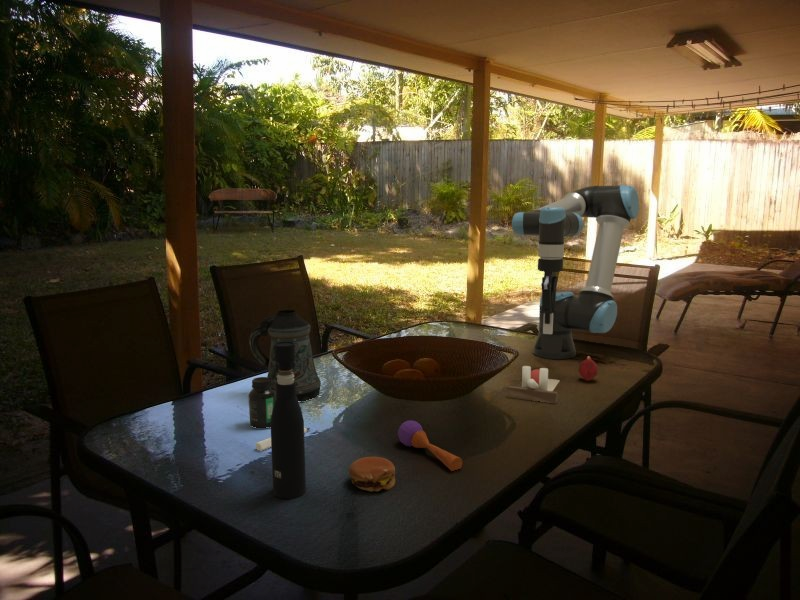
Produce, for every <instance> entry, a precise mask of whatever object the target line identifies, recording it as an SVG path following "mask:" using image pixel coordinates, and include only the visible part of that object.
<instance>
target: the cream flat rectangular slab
mask: <svg viewBox="0 0 800 600" xmlns="http://www.w3.org/2000/svg"><path fill="white" fill-rule="evenodd" d="M558 384H560V379H552V378H548V388H547V391H553V392H554V390H555V388H557V386H558ZM530 389H531V388H530Z"/></svg>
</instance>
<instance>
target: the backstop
mask: <svg viewBox="0 0 800 600" xmlns="http://www.w3.org/2000/svg"><path fill="white" fill-rule="evenodd" d="M506 398H510V399H516V400H525V401H531V400H532V401H533V402H538V401H540V402H541V403H545V402H546V403H547V404H553V405H554V404H557V402H558V391H554V390H553V391H545V390H538V389H530V388H522V386H513V385H508V386H506Z"/></svg>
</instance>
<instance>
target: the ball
mask: <svg viewBox="0 0 800 600" xmlns="http://www.w3.org/2000/svg"><path fill="white" fill-rule="evenodd" d="M539 374H540V368H539V369H538V368H536V369H533V370H532V369H531V379H534V380H535V382H536V383H537V384H538V385H539Z"/></svg>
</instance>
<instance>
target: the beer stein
mask: <svg viewBox="0 0 800 600" xmlns="http://www.w3.org/2000/svg"><path fill="white" fill-rule="evenodd" d="M311 326H312V325H311V324H310V323H309V322H308V321H307V320H306V319H304V318H302V317H301V316H300V315H298V314H297V313H296V310H293V309H291V310H290V309H285V310H278V311H277V312H276V314H275V315H271V316H266V317H264V318H262V321H261V322H260V325H259V326H257V327H255V328H254V329H252V330H251V331H250V336H249V339H248V340H249V342H248V343H249V348H250V351H251V353H252V355H253V356H254V358H255V359H256V361H258V362H259V364H260V365H262V366H263V367H264V368H266V369H267V370H268V371H267V376H266V377H269V378H271V379H272V387H271V388H273V389H274V390H275V391H276V383H277V382H278V381H277V379H278V378H277V376H278V373H280V372H279V371H278V369H279V363H278V362H275V352H274V344H275V343H278V342H293V343H295V361H293V362H292V371H291V372H293V375H294V382H296V397H297V399H298V401H306V400H309V399H312V398H315V397H316V396H317V395H319V396H320V391H321V385H322V384H321V383H322V382H321V379H320V377H319V375H318V373H317V372H318V371H317V369H316V365H315V362H314V361H315V360H314V357H313V350H312V344H311V340H310V332H311ZM261 336H265V337H266V336H270V349H269V358H268V357H267V356H266V355H265V354H264V353H263V351H262V350H261V348H260V346H259V338H260V337H261ZM317 397H318V396H317ZM317 397H316V398H317ZM316 398H315V399H316ZM312 400H313V399H312ZM309 401H310V400H309ZM306 402H307V401H306Z"/></svg>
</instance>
